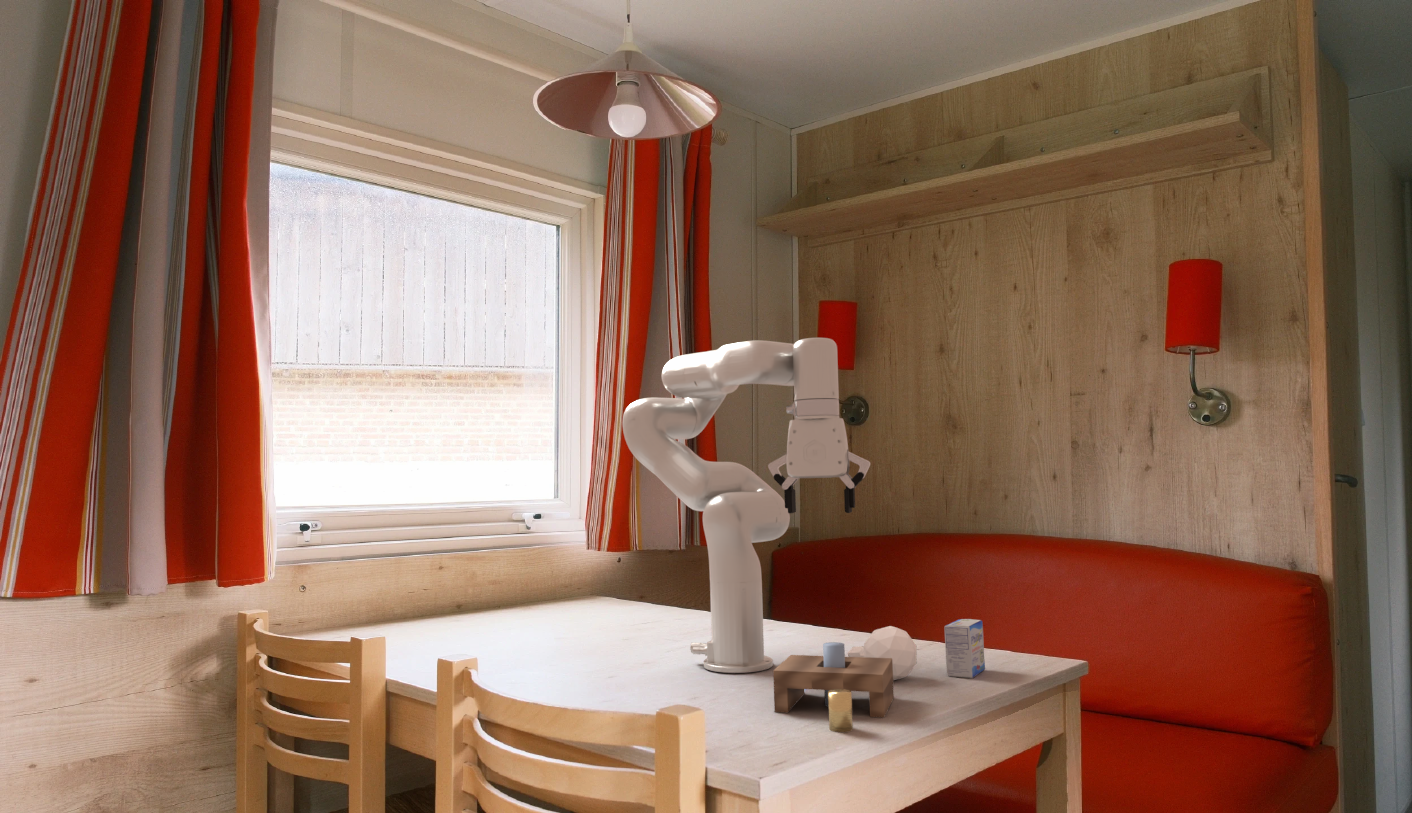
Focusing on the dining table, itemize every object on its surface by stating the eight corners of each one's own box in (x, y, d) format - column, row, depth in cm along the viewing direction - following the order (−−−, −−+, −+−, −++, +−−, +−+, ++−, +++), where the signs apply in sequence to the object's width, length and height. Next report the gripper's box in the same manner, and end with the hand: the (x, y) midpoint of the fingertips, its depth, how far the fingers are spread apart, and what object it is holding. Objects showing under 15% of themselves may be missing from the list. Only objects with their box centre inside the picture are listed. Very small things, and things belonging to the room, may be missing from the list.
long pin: (823, 706, 140) (821, 645, 141) (827, 701, 143) (825, 641, 144) (844, 707, 139) (842, 646, 140) (847, 702, 142) (845, 642, 143)
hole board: (774, 711, 138) (773, 670, 139) (792, 692, 150) (790, 654, 150) (884, 717, 133) (882, 674, 134) (893, 697, 145) (892, 658, 145)
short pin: (827, 731, 127) (826, 693, 128) (831, 725, 130) (830, 688, 131) (850, 732, 126) (849, 694, 127) (854, 726, 129) (853, 689, 130)
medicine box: (972, 679, 156) (970, 626, 157) (946, 676, 159) (943, 624, 159) (985, 670, 163) (983, 619, 164) (960, 667, 165) (957, 617, 166)
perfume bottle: (932, 664, 159) (869, 666, 166) (916, 615, 158) (854, 618, 165) (913, 690, 152) (848, 691, 159) (896, 638, 151) (833, 641, 159)
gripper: (761, 412, 158) (764, 514, 157) (864, 407, 153) (868, 513, 152) (772, 414, 165) (775, 512, 164) (871, 410, 160) (874, 511, 159)
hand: (819, 512), depth 158 cm, fingers open, 9 cm apart
